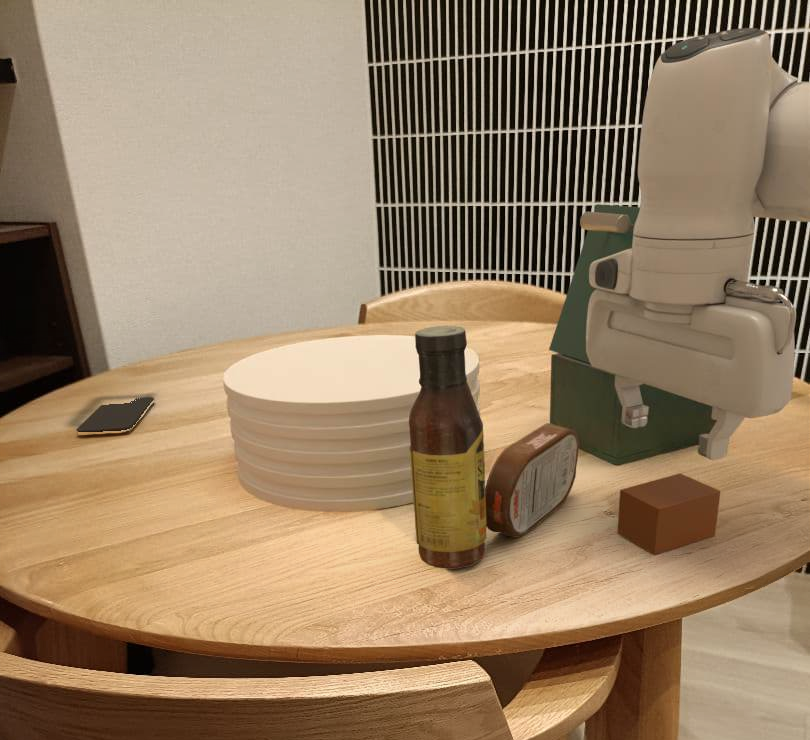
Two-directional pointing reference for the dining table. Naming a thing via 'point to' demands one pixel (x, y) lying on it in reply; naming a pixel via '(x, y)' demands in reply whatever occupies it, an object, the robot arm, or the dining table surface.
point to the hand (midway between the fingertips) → (670, 440)
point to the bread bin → (602, 413)
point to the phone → (115, 416)
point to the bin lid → (603, 239)
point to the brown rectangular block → (668, 513)
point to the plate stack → (329, 421)
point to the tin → (531, 479)
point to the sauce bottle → (447, 454)
